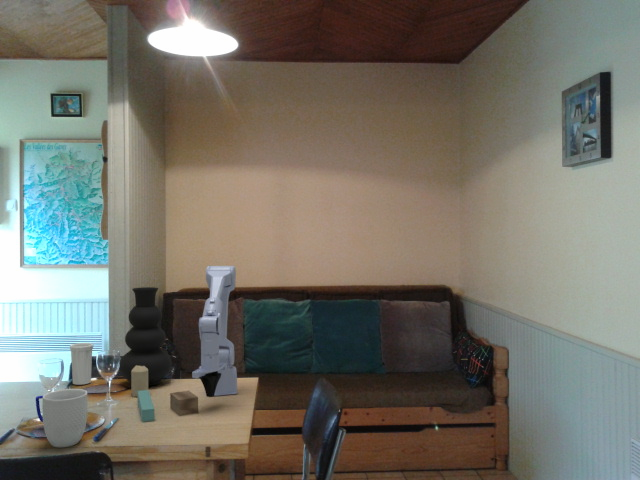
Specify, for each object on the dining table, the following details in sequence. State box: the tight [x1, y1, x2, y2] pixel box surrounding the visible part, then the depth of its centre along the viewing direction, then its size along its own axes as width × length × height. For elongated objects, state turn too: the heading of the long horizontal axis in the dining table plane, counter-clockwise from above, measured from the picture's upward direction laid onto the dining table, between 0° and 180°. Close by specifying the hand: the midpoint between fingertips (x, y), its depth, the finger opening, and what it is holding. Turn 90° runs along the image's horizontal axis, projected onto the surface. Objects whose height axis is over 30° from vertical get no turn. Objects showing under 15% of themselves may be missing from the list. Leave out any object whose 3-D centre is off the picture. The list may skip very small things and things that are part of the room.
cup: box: [69, 342, 94, 386], centre depth 217 cm, size 8×8×14 cm
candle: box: [130, 365, 149, 398], centre depth 202 cm, size 6×6×10 cm
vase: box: [118, 286, 172, 387], centre depth 217 cm, size 18×18×35 cm
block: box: [169, 390, 199, 417], centre depth 185 cm, size 6×9×5 cm, turn 31°
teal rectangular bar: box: [137, 389, 155, 423], centre depth 184 cm, size 4×22×4 cm, turn 21°
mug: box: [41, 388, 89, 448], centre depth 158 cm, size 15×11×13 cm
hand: (210, 396), depth 187 cm, fingers closed
